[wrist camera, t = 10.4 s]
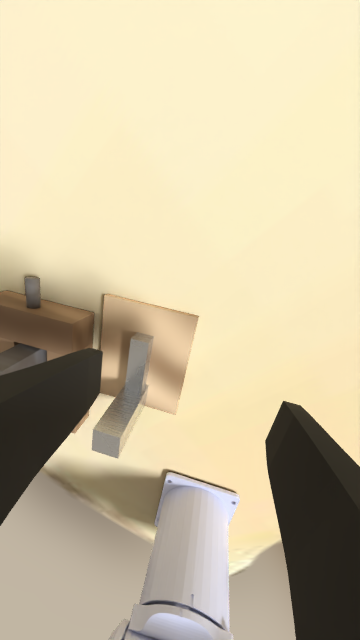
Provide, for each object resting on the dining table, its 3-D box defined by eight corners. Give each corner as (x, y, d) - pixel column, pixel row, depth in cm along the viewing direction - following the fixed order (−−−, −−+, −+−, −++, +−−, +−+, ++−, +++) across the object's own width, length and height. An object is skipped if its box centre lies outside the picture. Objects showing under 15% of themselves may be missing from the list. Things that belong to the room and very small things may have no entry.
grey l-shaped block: (145, 402, 21) (117, 458, 16) (126, 396, 21) (91, 449, 16) (156, 337, 19) (128, 376, 13) (134, 331, 19) (97, 367, 13)
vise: (88, 415, 24) (47, 468, 18) (16, 393, 25) (-43, 436, 19) (95, 286, 19) (41, 304, 13) (4, 264, 20) (-82, 272, 14)
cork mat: (176, 411, 22) (175, 414, 21) (100, 388, 22) (97, 391, 22) (198, 316, 18) (198, 317, 18) (107, 293, 19) (104, 295, 18)
